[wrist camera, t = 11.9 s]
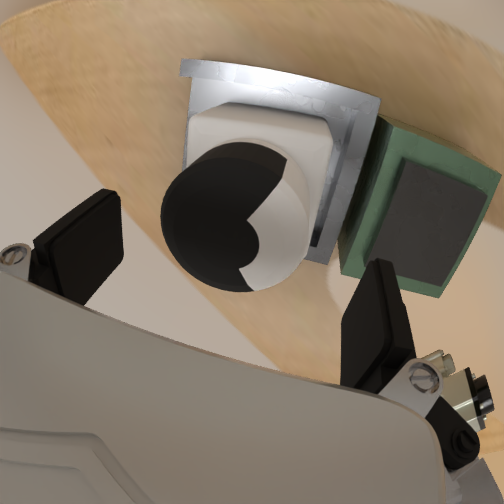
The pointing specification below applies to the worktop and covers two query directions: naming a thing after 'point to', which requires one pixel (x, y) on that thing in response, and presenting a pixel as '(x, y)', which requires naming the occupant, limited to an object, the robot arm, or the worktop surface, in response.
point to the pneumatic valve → (463, 390)
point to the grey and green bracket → (368, 175)
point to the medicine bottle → (247, 195)
